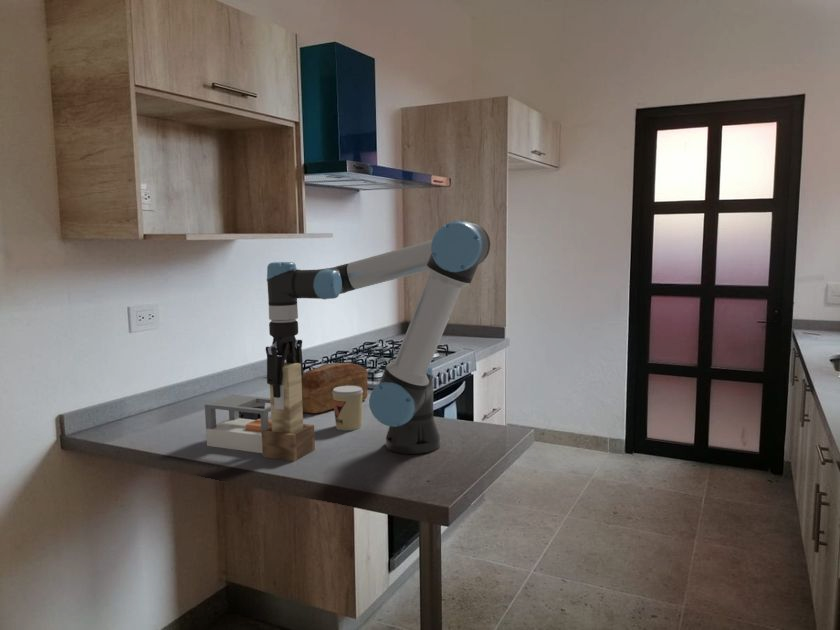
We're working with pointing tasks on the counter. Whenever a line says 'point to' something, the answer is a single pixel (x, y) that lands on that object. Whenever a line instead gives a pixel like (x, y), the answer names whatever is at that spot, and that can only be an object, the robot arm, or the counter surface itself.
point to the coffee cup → (348, 407)
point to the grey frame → (235, 424)
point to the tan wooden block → (289, 401)
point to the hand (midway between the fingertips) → (286, 405)
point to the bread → (330, 384)
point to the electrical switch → (252, 415)
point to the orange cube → (256, 425)
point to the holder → (288, 443)
